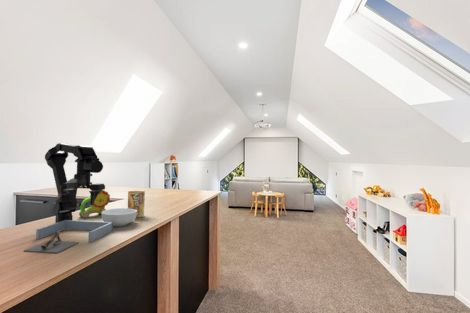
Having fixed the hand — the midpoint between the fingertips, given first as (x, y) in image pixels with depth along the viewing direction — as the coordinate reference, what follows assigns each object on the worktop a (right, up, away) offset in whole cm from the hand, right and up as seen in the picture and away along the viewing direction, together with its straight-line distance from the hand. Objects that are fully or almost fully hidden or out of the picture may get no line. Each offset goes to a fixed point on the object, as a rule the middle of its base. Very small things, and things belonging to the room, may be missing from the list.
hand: (82, 204), depth 116 cm
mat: (+3, -12, -23) cm, 26 cm away
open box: (+2, -12, -7) cm, 14 cm away
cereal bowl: (+12, -13, +11) cm, 21 cm away
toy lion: (-10, -12, +29) cm, 33 cm away
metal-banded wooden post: (+3, -12, -23) cm, 26 cm away
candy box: (+14, -13, +29) cm, 35 cm away
